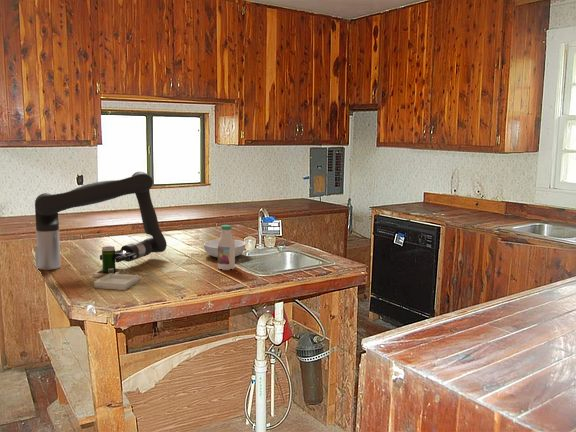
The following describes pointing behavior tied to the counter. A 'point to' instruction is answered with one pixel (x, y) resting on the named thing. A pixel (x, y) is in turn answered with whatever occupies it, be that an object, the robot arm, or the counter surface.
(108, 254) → the beer can
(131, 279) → the tray
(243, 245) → the serving bowl
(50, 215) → the robot arm
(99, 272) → the collar
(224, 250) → the milk bottle
